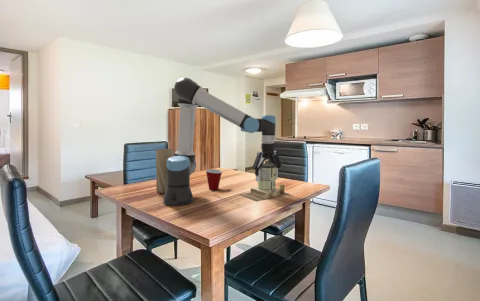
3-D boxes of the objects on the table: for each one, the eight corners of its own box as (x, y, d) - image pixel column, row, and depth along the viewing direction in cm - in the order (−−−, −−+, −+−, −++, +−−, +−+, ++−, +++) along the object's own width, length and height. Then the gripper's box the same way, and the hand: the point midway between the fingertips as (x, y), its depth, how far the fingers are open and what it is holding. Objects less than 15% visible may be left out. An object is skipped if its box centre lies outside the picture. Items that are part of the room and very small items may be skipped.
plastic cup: (221, 191, 166) (221, 171, 164) (204, 190, 166) (204, 171, 165) (223, 187, 176) (223, 168, 175) (206, 186, 177) (206, 168, 175)
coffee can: (257, 186, 160) (258, 162, 159) (275, 187, 159) (276, 163, 158) (257, 190, 150) (257, 165, 148) (275, 191, 149) (276, 166, 147)
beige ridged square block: (264, 198, 146) (264, 192, 146) (250, 193, 156) (250, 188, 155) (280, 195, 153) (280, 189, 153) (265, 190, 163) (266, 185, 163)
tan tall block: (163, 193, 158) (163, 150, 155) (153, 190, 164) (152, 149, 161) (176, 190, 166) (176, 149, 163) (166, 187, 172) (165, 148, 169)
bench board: (256, 204, 140) (256, 192, 139) (238, 197, 153) (238, 186, 152) (290, 196, 156) (291, 185, 155) (271, 190, 168) (271, 180, 168)
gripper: (255, 143, 141) (254, 183, 144) (288, 142, 157) (286, 178, 159) (246, 142, 147) (245, 181, 150) (279, 141, 162) (277, 176, 165)
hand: (266, 180), depth 154 cm, fingers open, 13 cm apart
